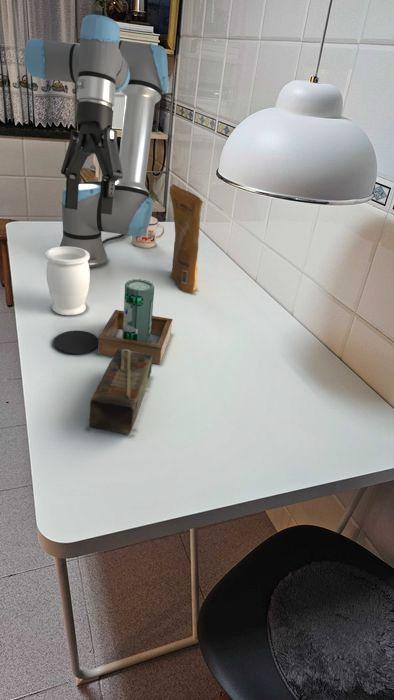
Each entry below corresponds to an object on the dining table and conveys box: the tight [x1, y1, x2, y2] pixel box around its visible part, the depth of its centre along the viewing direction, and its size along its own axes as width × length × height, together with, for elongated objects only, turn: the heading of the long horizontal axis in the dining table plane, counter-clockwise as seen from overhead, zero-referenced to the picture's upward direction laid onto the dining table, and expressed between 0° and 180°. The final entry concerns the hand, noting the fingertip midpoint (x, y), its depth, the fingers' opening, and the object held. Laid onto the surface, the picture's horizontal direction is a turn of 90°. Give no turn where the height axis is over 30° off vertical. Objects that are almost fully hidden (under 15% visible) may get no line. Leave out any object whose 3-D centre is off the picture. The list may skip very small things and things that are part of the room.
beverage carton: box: [88, 349, 153, 435], centre depth 90 cm, size 8×19×7 cm, turn 173°
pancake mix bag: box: [169, 183, 203, 294], centre depth 138 cm, size 7×19×28 cm, turn 20°
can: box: [122, 278, 155, 343], centre depth 107 cm, size 6×6×15 cm
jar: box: [45, 246, 91, 316], centre depth 118 cm, size 11×10×15 cm
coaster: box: [53, 330, 98, 356], centre depth 108 cm, size 10×10×1 cm
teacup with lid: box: [131, 215, 166, 249], centre depth 169 cm, size 12×9×12 cm
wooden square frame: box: [97, 309, 173, 365], centre depth 109 cm, size 14×14×4 cm
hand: (87, 211), depth 102 cm, fingers open, 13 cm apart
